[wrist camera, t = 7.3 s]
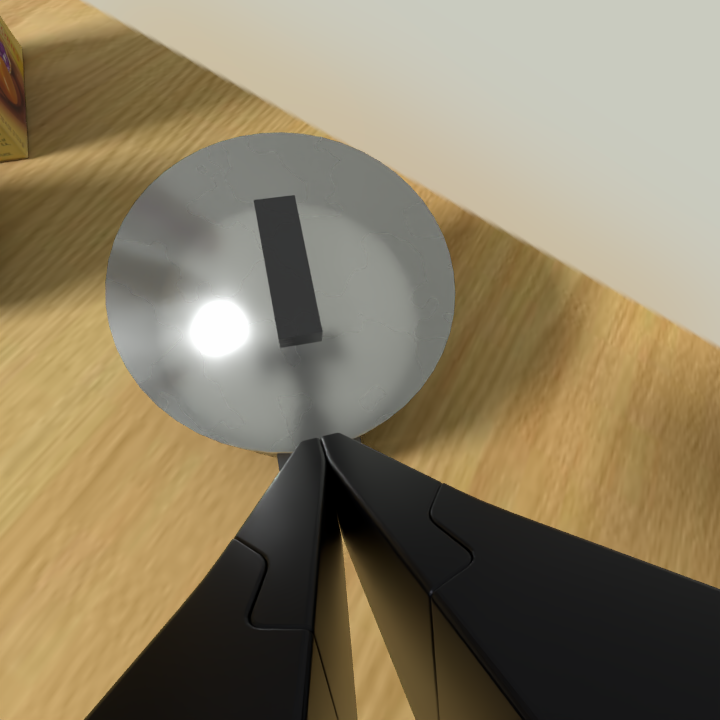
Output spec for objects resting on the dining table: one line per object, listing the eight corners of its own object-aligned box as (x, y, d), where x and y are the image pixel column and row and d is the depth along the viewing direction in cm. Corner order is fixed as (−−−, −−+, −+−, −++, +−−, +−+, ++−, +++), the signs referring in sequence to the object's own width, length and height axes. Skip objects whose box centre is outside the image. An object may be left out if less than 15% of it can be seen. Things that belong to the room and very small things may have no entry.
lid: (483, 414, 16) (507, 407, 14) (135, 489, 14) (106, 492, 12) (406, 137, 18) (417, 98, 16) (104, 168, 17) (77, 128, 15)
